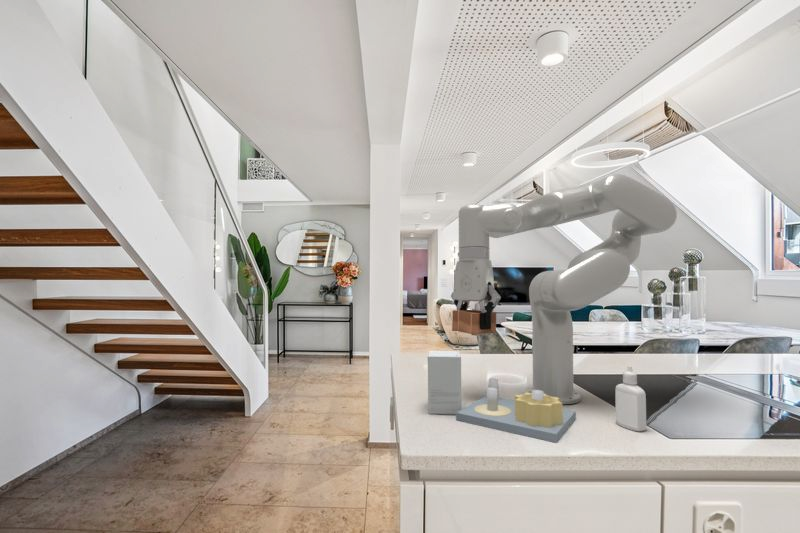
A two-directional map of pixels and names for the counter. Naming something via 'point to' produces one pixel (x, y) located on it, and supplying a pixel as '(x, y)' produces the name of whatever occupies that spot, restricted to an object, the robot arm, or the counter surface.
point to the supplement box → (444, 382)
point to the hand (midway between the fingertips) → (474, 327)
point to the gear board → (514, 424)
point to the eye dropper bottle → (630, 403)
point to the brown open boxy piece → (471, 322)
